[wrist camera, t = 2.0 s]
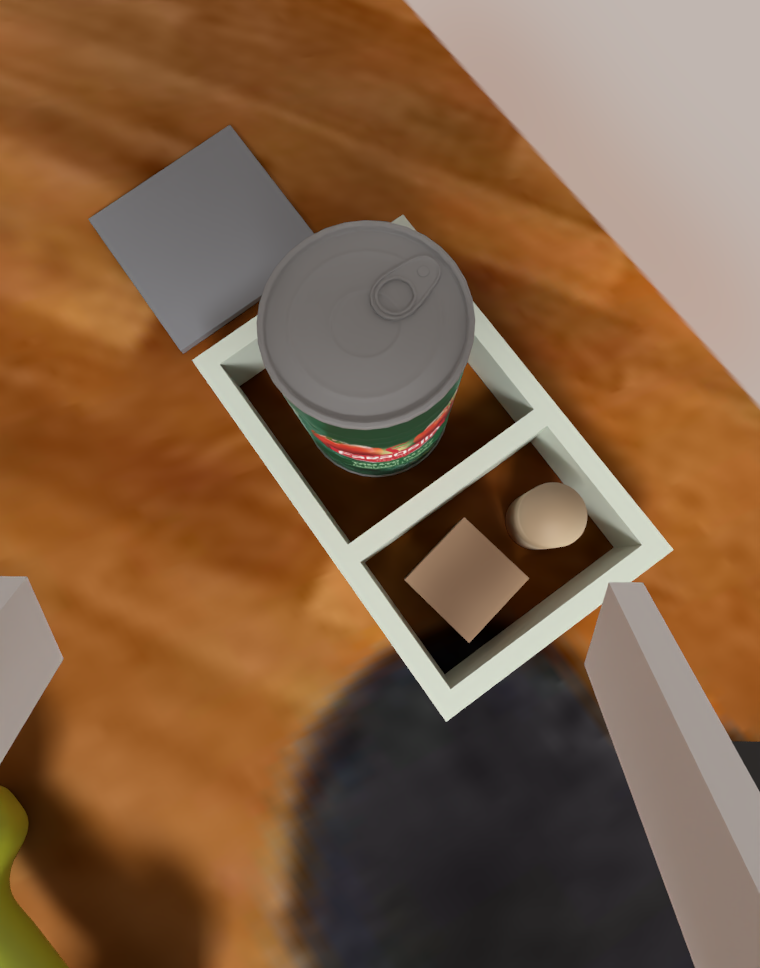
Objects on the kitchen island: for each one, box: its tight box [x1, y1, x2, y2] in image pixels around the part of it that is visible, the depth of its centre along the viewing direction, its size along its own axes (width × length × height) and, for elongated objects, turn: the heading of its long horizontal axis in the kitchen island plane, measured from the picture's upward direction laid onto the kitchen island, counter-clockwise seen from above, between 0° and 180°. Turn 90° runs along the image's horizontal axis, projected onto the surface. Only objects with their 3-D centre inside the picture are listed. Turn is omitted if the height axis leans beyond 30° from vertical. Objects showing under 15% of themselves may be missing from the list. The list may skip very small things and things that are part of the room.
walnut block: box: [404, 517, 529, 643], centre depth 28 cm, size 4×4×4 cm
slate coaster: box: [88, 125, 314, 354], centre depth 33 cm, size 10×10×1 cm
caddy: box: [192, 215, 673, 722], centre depth 29 cm, size 21×13×4 cm, turn 36°
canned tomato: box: [256, 220, 475, 477], centre depth 26 cm, size 8×8×11 cm
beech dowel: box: [505, 482, 587, 550], centre depth 28 cm, size 3×3×4 cm
